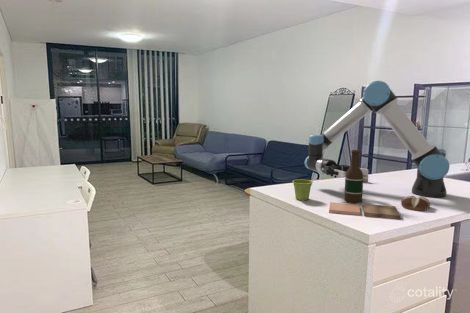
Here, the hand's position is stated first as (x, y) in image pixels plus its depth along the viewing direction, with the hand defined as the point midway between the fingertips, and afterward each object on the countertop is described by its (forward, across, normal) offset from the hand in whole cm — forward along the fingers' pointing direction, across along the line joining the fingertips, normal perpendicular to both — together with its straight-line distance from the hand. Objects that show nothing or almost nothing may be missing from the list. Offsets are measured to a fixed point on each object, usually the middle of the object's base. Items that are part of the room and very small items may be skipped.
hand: (356, 173), depth 148 cm
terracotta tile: (+8, +12, -13) cm, 20 cm away
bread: (+16, -19, -14) cm, 28 cm away
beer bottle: (-1, 0, -14) cm, 14 cm away
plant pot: (-14, +19, -14) cm, 27 cm away
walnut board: (+16, +2, -13) cm, 21 cm away
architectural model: (-33, -36, -14) cm, 51 cm away
